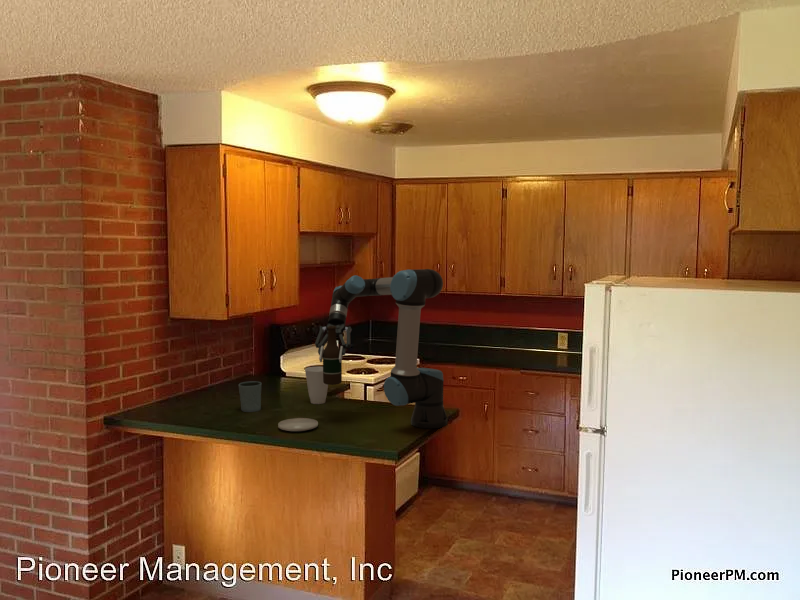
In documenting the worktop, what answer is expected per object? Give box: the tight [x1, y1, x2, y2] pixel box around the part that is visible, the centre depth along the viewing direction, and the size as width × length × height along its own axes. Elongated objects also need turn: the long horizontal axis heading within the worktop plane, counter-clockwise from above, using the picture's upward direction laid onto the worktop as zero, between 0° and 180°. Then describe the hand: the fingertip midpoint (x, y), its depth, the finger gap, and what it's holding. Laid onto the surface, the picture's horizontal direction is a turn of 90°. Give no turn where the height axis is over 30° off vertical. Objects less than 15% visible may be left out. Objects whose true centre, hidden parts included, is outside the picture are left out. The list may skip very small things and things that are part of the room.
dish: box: [277, 417, 319, 433], centre depth 280 cm, size 16×16×2 cm
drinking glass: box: [237, 380, 262, 413], centre depth 311 cm, size 10×10×12 cm
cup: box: [304, 366, 329, 405], centre depth 324 cm, size 12×12×16 cm
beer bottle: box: [322, 326, 343, 386], centre depth 287 cm, size 8×8×24 cm
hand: (330, 360), depth 284 cm, fingers closed on beer bottle, 7 cm apart
